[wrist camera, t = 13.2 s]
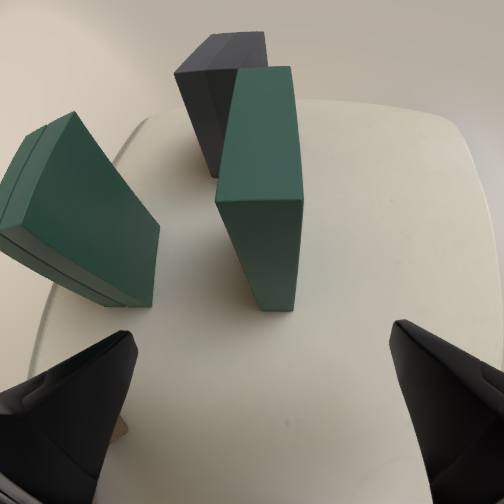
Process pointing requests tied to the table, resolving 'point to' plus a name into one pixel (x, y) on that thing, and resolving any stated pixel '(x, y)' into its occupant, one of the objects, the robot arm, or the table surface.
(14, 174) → the green book
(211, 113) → the charcoal book
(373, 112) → the table surface
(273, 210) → the green book
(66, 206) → the green book
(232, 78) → the charcoal book
